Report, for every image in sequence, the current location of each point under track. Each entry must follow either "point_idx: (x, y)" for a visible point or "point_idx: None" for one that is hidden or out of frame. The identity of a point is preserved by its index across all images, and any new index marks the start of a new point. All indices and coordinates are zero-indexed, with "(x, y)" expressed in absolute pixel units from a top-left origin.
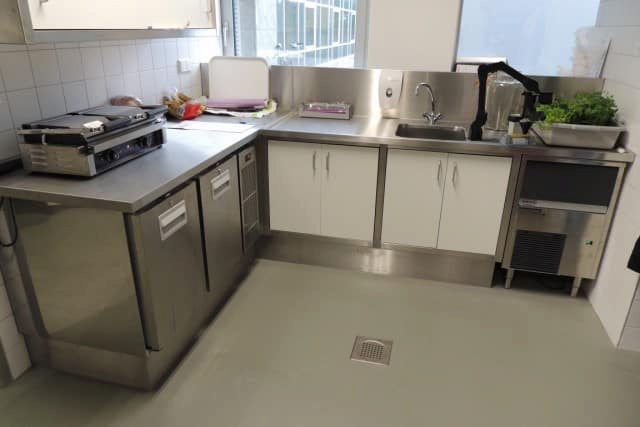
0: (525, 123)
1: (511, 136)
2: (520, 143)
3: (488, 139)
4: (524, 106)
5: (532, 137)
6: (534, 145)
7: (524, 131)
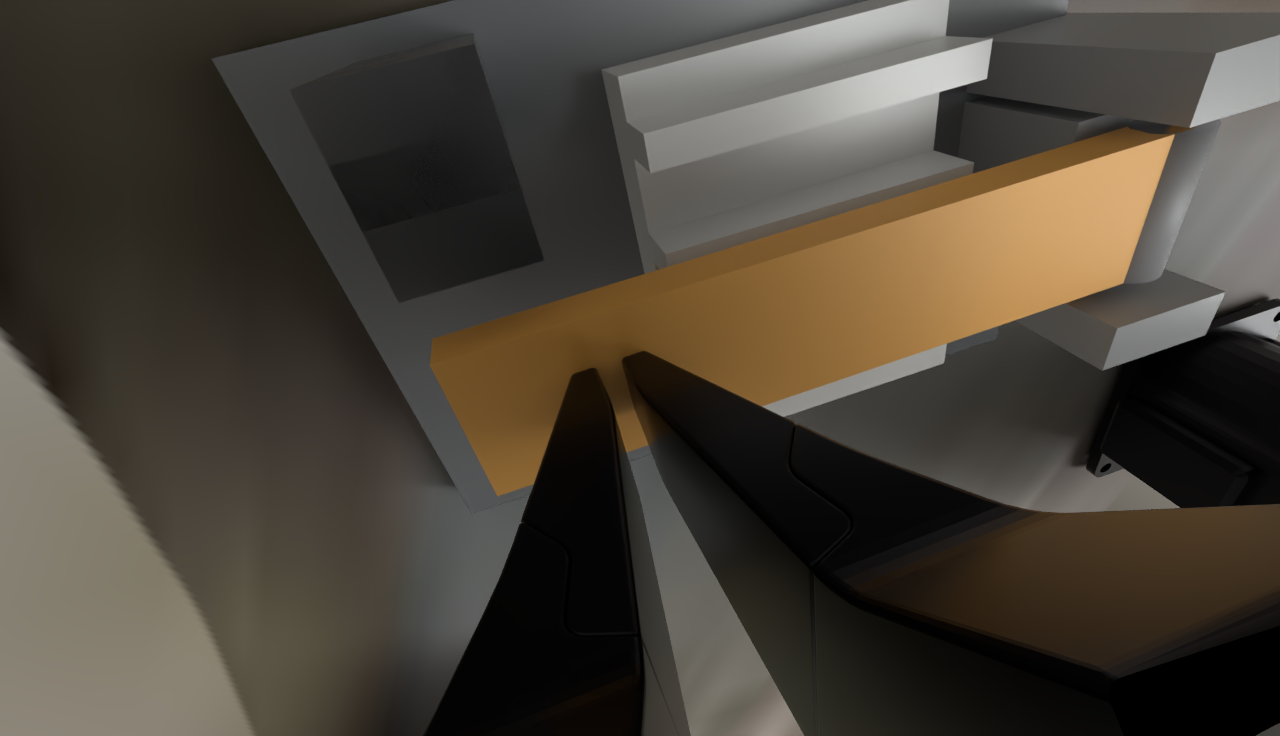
0: (1240, 554)
1: (1037, 161)
2: (726, 36)
3: (999, 437)
4: None
5: (381, 67)
6: (305, 38)
7: (695, 388)
